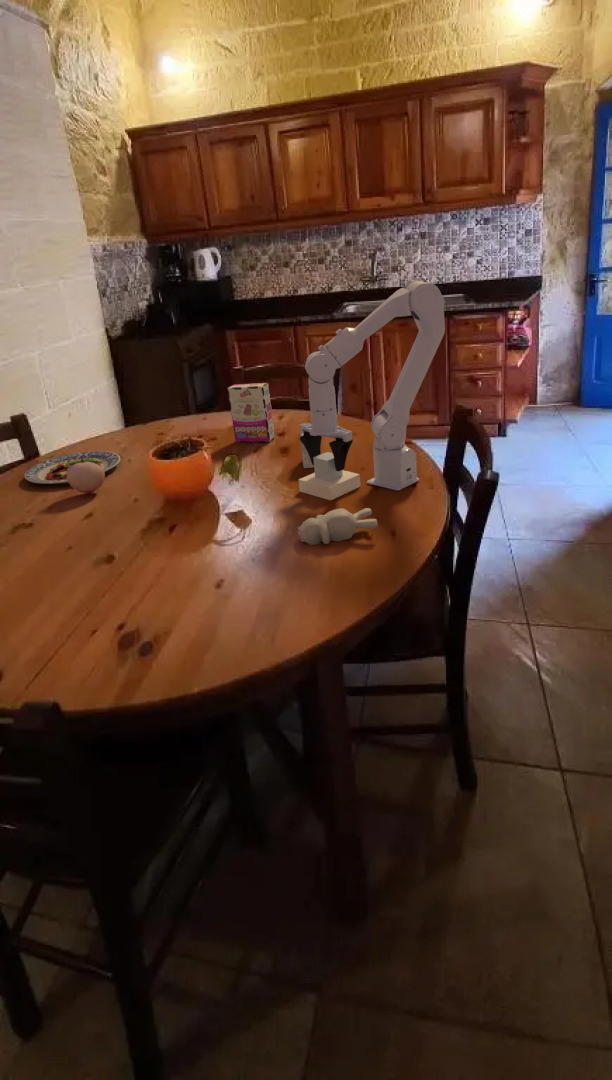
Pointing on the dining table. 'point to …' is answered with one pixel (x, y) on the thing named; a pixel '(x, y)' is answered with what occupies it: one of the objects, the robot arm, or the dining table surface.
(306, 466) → the medicine box
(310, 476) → the base brick
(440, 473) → the dining table surface
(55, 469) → the ceramic plate
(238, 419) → the candy bar box
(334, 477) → the blue-grey brick
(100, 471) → the decorative fruit
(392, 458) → the robot arm
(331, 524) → the bunny figurine
